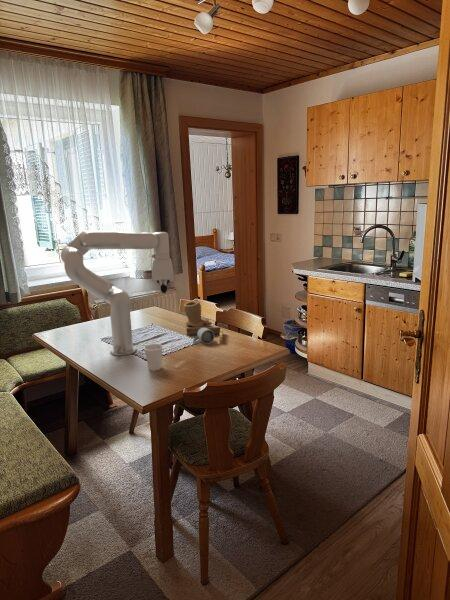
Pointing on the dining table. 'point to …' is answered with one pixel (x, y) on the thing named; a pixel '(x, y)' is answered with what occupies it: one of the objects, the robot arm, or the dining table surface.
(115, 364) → the dining table surface
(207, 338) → the ceramic mug
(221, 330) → the trap box
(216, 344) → the dining table surface
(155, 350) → the dixie cup
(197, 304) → the tan boot
